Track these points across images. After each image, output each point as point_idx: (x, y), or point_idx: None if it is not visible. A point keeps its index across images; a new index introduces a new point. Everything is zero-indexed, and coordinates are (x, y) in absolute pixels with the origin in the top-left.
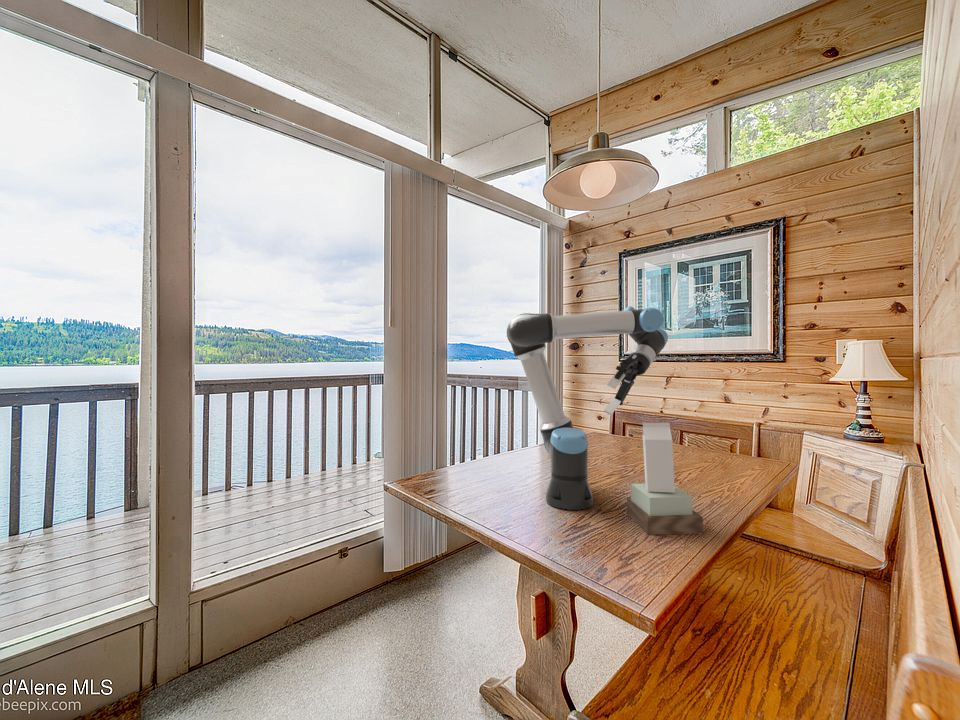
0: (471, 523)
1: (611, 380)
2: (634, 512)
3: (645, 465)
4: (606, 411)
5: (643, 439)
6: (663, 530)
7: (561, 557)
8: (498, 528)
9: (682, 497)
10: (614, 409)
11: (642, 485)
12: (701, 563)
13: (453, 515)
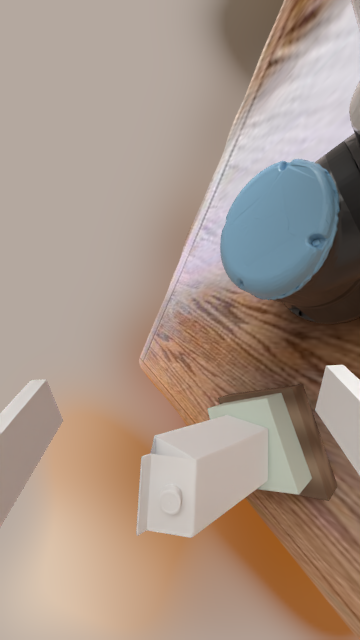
0: (209, 194)
1: (5, 419)
2: (263, 390)
3: (212, 427)
4: (323, 381)
5: (185, 447)
6: None
7: (174, 305)
8: (206, 228)
9: None
10: (342, 450)
11: (262, 419)
12: (187, 425)
13: (223, 158)
